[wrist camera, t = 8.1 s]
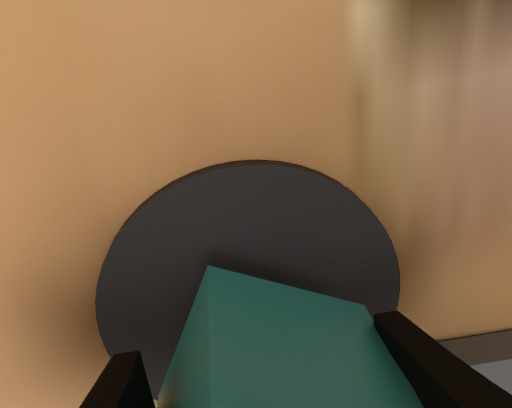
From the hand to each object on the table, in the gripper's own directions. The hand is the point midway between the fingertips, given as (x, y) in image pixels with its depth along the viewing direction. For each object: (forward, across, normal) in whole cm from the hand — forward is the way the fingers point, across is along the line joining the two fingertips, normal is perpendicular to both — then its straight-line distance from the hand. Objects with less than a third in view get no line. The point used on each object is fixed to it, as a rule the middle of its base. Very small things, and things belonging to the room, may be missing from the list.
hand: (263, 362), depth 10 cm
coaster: (+3, 0, 0) cm, 3 cm away
